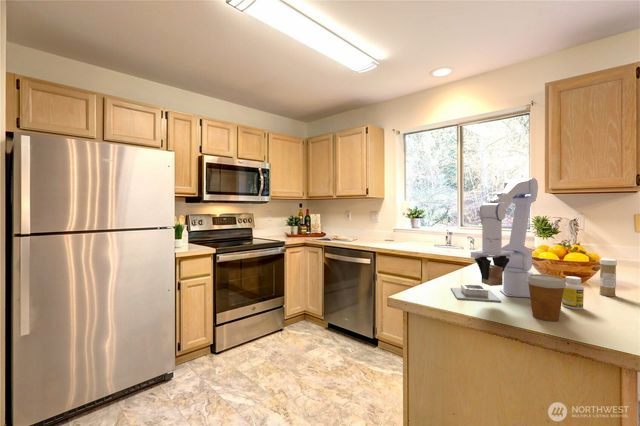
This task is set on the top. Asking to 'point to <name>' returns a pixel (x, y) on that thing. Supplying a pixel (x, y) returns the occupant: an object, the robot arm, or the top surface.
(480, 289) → the collar
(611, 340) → the top surface
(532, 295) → the disposable coffee cup
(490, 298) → the socket plate
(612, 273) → the sprinkles bottle
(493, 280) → the keyed block
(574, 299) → the supplement bottle
